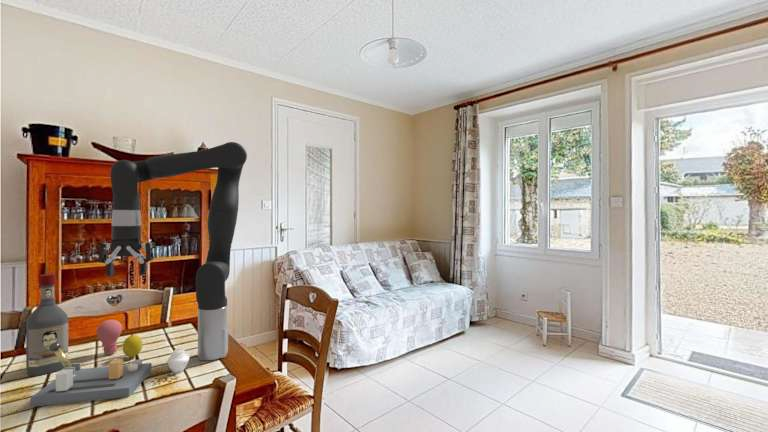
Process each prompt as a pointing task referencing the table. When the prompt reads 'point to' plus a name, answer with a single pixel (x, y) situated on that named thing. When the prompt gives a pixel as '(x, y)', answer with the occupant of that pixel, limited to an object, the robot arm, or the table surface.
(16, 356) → the table surface
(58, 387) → the grey slider
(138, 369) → the panel
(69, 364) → the brass lever
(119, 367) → the orange slider
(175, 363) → the white egg shape
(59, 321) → the liquor
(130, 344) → the lemon
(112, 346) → the light bulb
